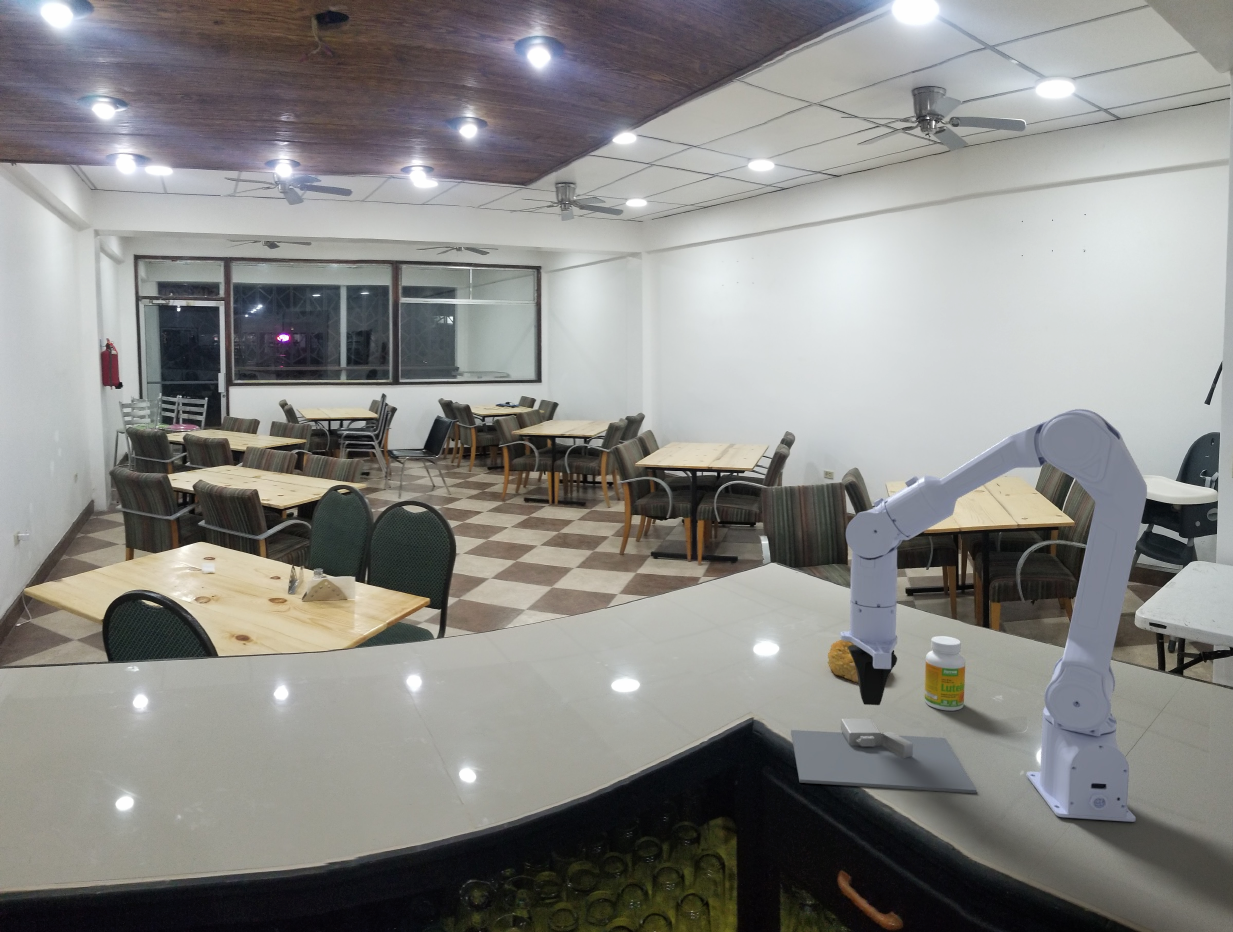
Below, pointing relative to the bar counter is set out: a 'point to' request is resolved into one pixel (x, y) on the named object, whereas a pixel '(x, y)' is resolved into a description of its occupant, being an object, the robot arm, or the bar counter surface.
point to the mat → (878, 763)
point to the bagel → (842, 660)
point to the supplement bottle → (945, 674)
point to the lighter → (874, 736)
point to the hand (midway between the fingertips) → (870, 702)
